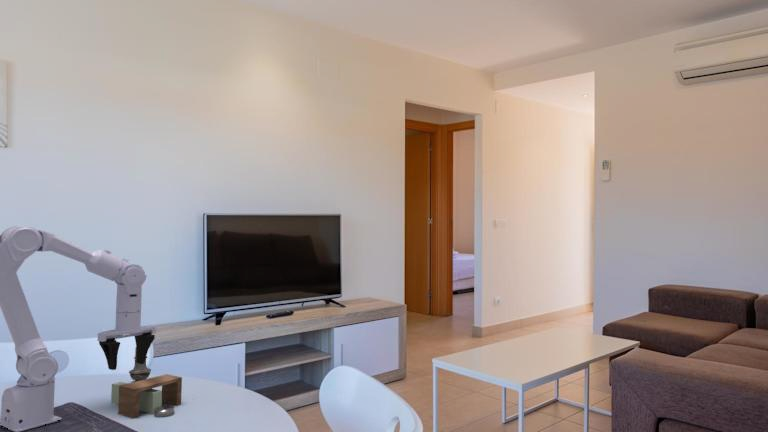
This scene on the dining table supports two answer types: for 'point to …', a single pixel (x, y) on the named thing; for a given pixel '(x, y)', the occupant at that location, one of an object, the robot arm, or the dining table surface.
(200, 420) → the dining table surface
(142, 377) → the salt shaker
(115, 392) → the bar
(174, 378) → the wooden bridge block
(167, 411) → the disc
